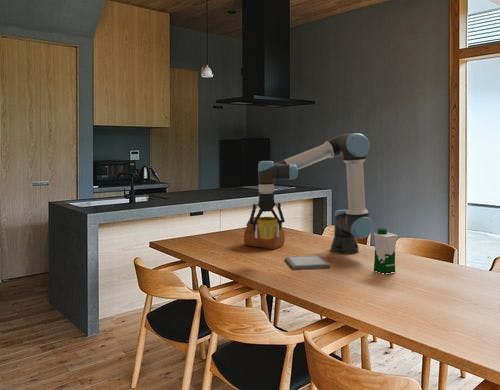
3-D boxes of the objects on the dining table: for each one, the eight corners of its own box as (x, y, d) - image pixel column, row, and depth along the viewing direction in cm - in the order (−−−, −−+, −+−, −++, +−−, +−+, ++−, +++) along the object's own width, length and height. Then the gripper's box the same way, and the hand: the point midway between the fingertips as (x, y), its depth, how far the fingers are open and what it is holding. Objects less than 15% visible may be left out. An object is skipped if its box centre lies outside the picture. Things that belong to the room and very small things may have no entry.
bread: (273, 251, 249) (273, 221, 247) (241, 246, 260) (240, 217, 259) (287, 244, 264) (287, 216, 262) (256, 240, 275) (256, 213, 273)
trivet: (318, 258, 233) (318, 255, 233) (329, 267, 216) (329, 264, 215) (285, 259, 231) (285, 256, 230) (293, 269, 213) (293, 266, 213)
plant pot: (276, 240, 216) (275, 220, 215) (254, 239, 218) (254, 220, 217) (278, 235, 226) (278, 216, 225) (258, 235, 228) (258, 216, 227)
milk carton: (384, 268, 215) (385, 227, 212) (398, 273, 207) (400, 230, 204) (370, 270, 211) (371, 229, 208) (384, 275, 203) (386, 232, 200)
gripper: (287, 190, 224) (287, 234, 227) (242, 192, 221) (243, 236, 224) (290, 192, 217) (291, 237, 220) (244, 194, 214) (245, 239, 217)
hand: (267, 237), depth 222 cm, fingers closed on plant pot, 10 cm apart
